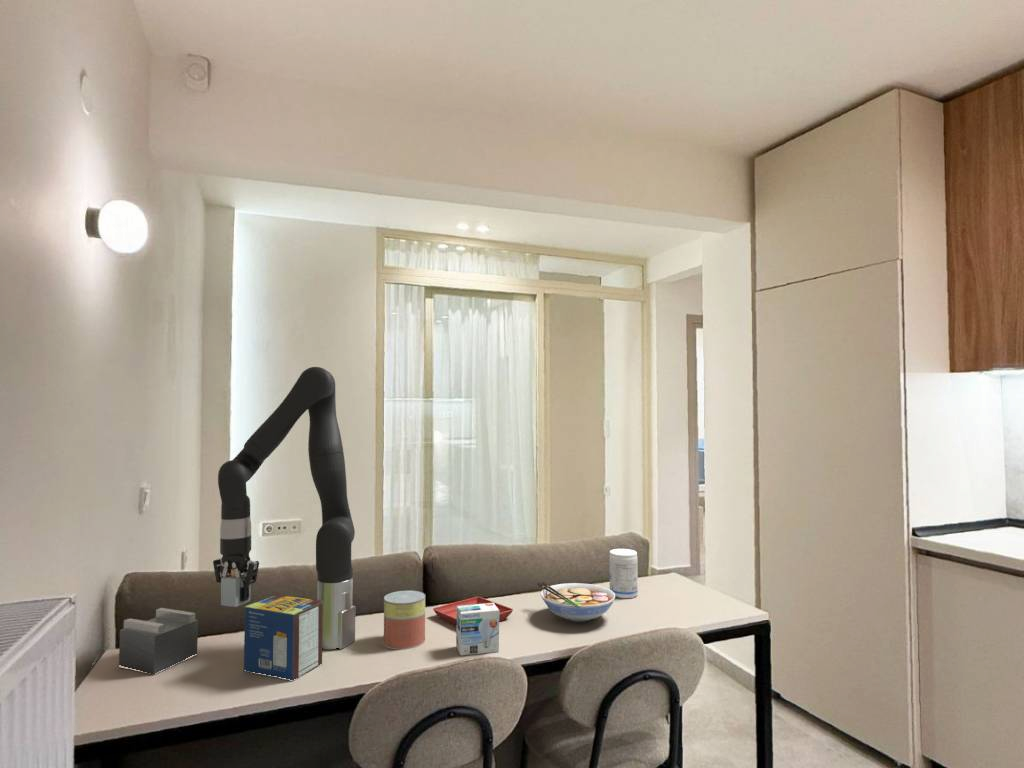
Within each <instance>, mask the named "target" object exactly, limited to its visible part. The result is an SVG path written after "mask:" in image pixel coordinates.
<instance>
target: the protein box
mask: <svg viewBox="0 0 1024 768" xmlns="http://www.w3.org/2000/svg"><path fill="white" fill-rule="evenodd" d="M322 608H323V602H322V601H320V600H317V599H311V598H304V597H303V598H302V597H296V596H290V595H289V596H287V595H281V594H280V595H279V594H274V595H272V596H269V597H267V598H264V599H261V600H259V601H256V602H252V603H250V604H248V605H245V606H244V633H243V634H244V640H243V641H244V643H243V645H244V646H243V649H244V650H243V671H244V670H246V671H250V672H255V673H261V674H266V675H271V676H277V677H281V678H286V679H290V680H294V679H296V678H297V679H299V678H300V677H299V676H301V675H302V676H304V675H306V674H307V673H309V672H311V671H313V670H314V669H316V668H317V666H318V665H319V666H321V665H322V664H323V649H322V612H323V611H322ZM320 664H321V665H320ZM319 666H318V667H319ZM315 667H316V668H315ZM313 668H314V669H313ZM310 670H311V671H310ZM308 671H309V672H308ZM250 672H249V673H250ZM306 672H307V673H306ZM255 673H254V674H255ZM305 673H306V674H305ZM303 674H304V675H303ZM302 676H301V677H302ZM298 677H299V678H298ZM297 679H296V680H297ZM294 681H295V680H294Z"/></svg>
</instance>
